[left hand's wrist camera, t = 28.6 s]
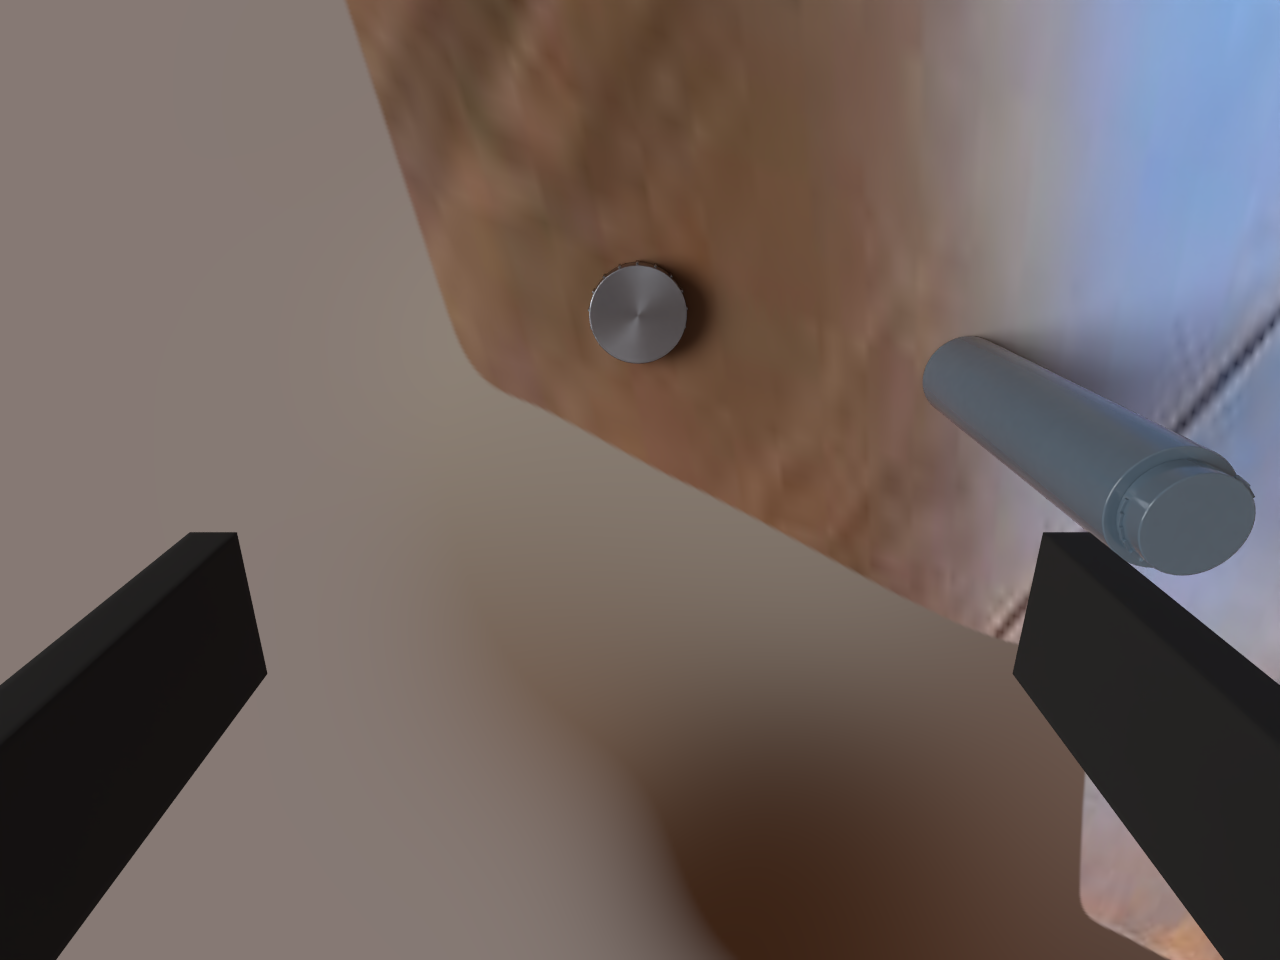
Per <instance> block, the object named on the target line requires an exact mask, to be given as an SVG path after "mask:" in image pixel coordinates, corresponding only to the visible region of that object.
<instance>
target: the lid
mask: <svg viewBox="0 0 1280 960" xmlns="http://www.w3.org/2000/svg"><path fill="white" fill-rule="evenodd" d="M682 292H683V289H682V287H681V288H680V287H679V285H678V284H677V282H676V281H675V279H674V278H673V276H672V274H671V273H670V274H669V273H668V272H666V271H665V270H663V269H662V268H660V267H658V266H657V264H655V263H654V265H653V264H650V263H645V262H639V261H638V260H636V262H631V263H626V264H623V265H621V264H619V265H618V267H616V268H614V269H613V270H611V271H610V272H608V273H607V274H604V275H603V278H602V280H601V281H600V282H599V284H598V285H597V287H596V289H595V288H594V290H593V292H592V293H593V296H592V300H591V303H590V306H589V309H588V311H589V319H590V325H591V327H590V328H591V329H592V332H593V334H594V336H595V338H596V340H597V342H598V343H599V345H600V346H601V347H602V348H603V349H604V350H605V351H606V352H607V353H609V354H610V355H611V356H613V357H615V358H617V359H619V360H621V361H624V362H628V363H638V364H639V363H648V362H652V361H655V360H657V359H659V358H661V357H663V356H665V355H666V354H668V353H669V352H670V351H671V350H672V349H673V348H674V347H675V346H676V345H677V344H678V342H679V340H680V339H681V337H682V335H683V332H684V329H685V328H686V320H687V310H688V307H687V305H686V303H685V299H684V296H683V293H682Z"/></svg>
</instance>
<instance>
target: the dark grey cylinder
mask: <svg viewBox="0 0 1280 960" xmlns="http://www.w3.org/2000/svg"><path fill="white" fill-rule="evenodd" d="M923 389H924V393H925V396H926V398H927V400H928V401H929V402H930V404H931V405H932V406H933V407H934V408H935V409H937V410H938V411H939V412H940V413H942V414H943V415H944V416H945V417H946V418H948V419H949V420H950V421H951V422H953V423H954V424H955V425H956V426H958V427H959V428H960V429H961V430H963V431H964V432H965V433H966V434H967V435H969V436H970V437H971V438H972V439H974V440H975V441H976V442H977V443H979V444H980V445H981V446H982V447H984V448H985V449H986V450H987V451H988V452H990V453H991V454H992V455H993V456H995V457H996V458H997V459H998V460H1000V461H1001V462H1002V463H1003V464H1005V465H1006V466H1007V467H1008V468H1009V469H1011V470H1012V471H1013V472H1014V473H1016V474H1017V475H1018V476H1019V477H1021V478H1022V479H1023V480H1024V481H1025V482H1027V483H1028V484H1029V485H1030V486H1032V487H1033V488H1034V489H1035V490H1037V491H1038V492H1039V493H1040V494H1042V495H1043V496H1044V497H1045V498H1046V499H1048V500H1049V501H1050V502H1051V503H1053V504H1054V505H1055V506H1056V507H1058V508H1059V509H1060V510H1061V511H1063V512H1064V513H1065V514H1066V515H1067V516H1069V517H1070V518H1071V519H1072V520H1074V521H1075V522H1076V523H1077V524H1079V525H1080V526H1081V527H1082V528H1084V529H1085V530H1086V531H1087V532H1090V533H1092V534H1093V535H1094V536H1095V537H1097V538H1098V539H1099V540H1100V541H1101V542H1103V543H1104V544H1105V545H1106V546H1108V547H1109V548H1110V549H1111V550H1113V551H1114V552H1115V553H1116V554H1118V555H1119V556H1120V557H1121V558H1123V559H1124V560H1125V561H1126V562H1128V563H1131V564H1134V565H1137V566H1142V567H1150V568H1155V569H1157V570H1159V571H1161V572H1164V573H1167V574H1172V575H1192V574H1198V573H1201V572H1205V571H1207V570H1210V569H1212V568H1214V567H1216V566H1218V565H1220V564H1221V563H1223V562H1225V561H1226V560H1227V559H1229V558H1230V557H1231V556H1232V555H1233V554H1235V553H1236V552H1237V551H1238V550H1239V548H1240V547H1241V546H1242V545H1243V544H1244V542H1245V541H1246V539H1247V538H1248V536H1249V534H1250V532H1251V530H1252V527H1253V524H1254V520H1255V503H1254V499H1253V498H1254V497H1255V496H1254V494H1253V492H1252V491H1251V489H1250V485H1249V484H1248V483H1247V482H1246V481H1245V480H1244V479H1243V478H1241V477H1240V476H1239V475H1236V473H1235V471H1234V469H1233V468H1232V466H1231V465H1230V464H1229V462H1228V461H1227V460H1226V459H1225V458H1223V457H1222V456H1221V455H1220V454H1218V453H1216V452H1214V451H1212V450H1210V449H1208V448H1206V447H1204V446H1202V445H1200V444H1198V443H1196V442H1194V441H1192V440H1190V439H1188V438H1186V437H1184V436H1182V435H1180V434H1178V433H1176V432H1174V431H1172V430H1170V429H1167V428H1165V427H1163V426H1161V425H1159V424H1157V423H1155V422H1153V421H1151V420H1149V419H1147V418H1145V417H1143V416H1141V415H1139V414H1137V413H1135V412H1133V411H1131V410H1129V409H1127V408H1125V407H1123V406H1121V405H1119V404H1117V403H1115V402H1113V401H1111V400H1108V399H1106V398H1104V397H1102V396H1100V395H1098V394H1096V393H1094V392H1092V391H1090V390H1088V389H1086V388H1084V387H1082V386H1080V385H1078V384H1076V383H1074V382H1072V381H1070V380H1068V379H1066V378H1064V377H1062V376H1060V375H1058V374H1056V373H1054V372H1051V371H1049V370H1047V369H1045V368H1043V367H1041V366H1039V365H1037V364H1035V363H1033V362H1031V361H1029V360H1027V359H1025V358H1023V357H1021V356H1019V355H1017V354H1015V353H1013V352H1011V351H1009V350H1007V349H1005V348H1003V347H1001V346H999V345H997V344H995V343H992V342H990V341H988V340H986V339H984V338H981V337H976V336H965V337H959V338H956V339H953V340H951V341H949V342H947V343H946V344H944V345H943V346H941V347H940V348H939V349H938V350H937V351H936V352H935V353H934V354H933V355H932V357H931V358H930V360H929V361H928V363H927V365H926V368H925V371H924V375H923Z"/></svg>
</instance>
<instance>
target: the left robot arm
mask: <svg viewBox="0 0 1280 960" xmlns="http://www.w3.org/2000/svg"><path fill="white" fill-rule="evenodd" d="M266 675H267V670H266V665H265V661H264V656H263V651H262V647H261V642H260V637H259V633H258V628H257V624H256V619H255V614H254V610H253V605H252V601H251V596H250V591H249V586H248V582H247V577H246V573H245V568H244V563H243V559H242V554H241V550H240V545H239V540H238V536H237V533H236V532H190V533H188V534H187V535H186V536H185V537H183V538H182V539H181V540H180V541H179V542H177V543H176V544H175V545H174V546H172V547H171V548H170V549H169V550H167V551H166V552H165V553H164V554H162V555H161V556H160V557H159V558H157V559H156V560H155V561H154V562H153V563H151V564H150V565H149V566H148V567H146V568H145V569H144V570H143V571H141V572H140V573H139V574H138V575H136V576H135V577H134V578H133V579H131V580H130V581H129V582H128V583H127V584H125V585H124V586H123V587H122V588H120V589H119V590H118V591H117V592H115V593H114V594H113V595H112V596H110V597H109V598H108V599H107V600H105V601H104V602H103V603H102V604H100V605H99V606H98V607H97V608H96V609H94V610H93V611H92V612H91V613H89V614H88V615H87V616H86V617H84V618H83V619H82V620H81V621H79V622H78V623H77V624H76V625H74V626H73V627H72V628H71V629H69V630H68V631H67V632H66V633H65V634H63V635H62V636H61V637H60V638H58V639H57V640H56V641H55V642H53V643H52V644H51V645H50V646H48V647H47V648H46V649H45V650H43V651H42V652H41V653H40V654H39V655H37V656H36V657H35V658H34V659H32V660H31V661H30V662H29V663H27V664H26V665H25V666H24V667H22V668H21V669H20V670H19V671H17V672H16V673H15V674H14V675H12V676H11V677H10V678H9V679H7V680H6V681H5V682H4V683H3V684H1V685H0V960H56V959H57V958H58V956H59V955H60V954H61V952H62V951H63V950H64V948H65V947H66V946H67V944H68V943H69V941H70V940H71V939H72V937H73V936H74V935H75V933H76V932H77V931H78V929H79V928H80V927H81V925H82V924H83V923H84V921H85V920H86V918H87V917H88V916H89V914H90V913H91V912H92V910H93V909H94V908H95V906H96V905H97V904H98V902H99V901H100V900H101V898H102V897H103V895H104V894H105V893H106V891H107V890H108V889H109V887H110V886H111V885H112V883H113V882H114V881H115V879H116V878H117V877H118V875H119V874H120V872H121V871H122V870H123V868H124V867H125V866H126V864H127V863H128V862H129V860H130V859H131V858H132V856H133V855H134V854H135V852H136V851H137V849H138V848H139V847H140V845H141V844H142V843H143V841H144V840H145V839H146V837H147V836H148V835H149V833H150V832H151V831H152V829H153V828H154V826H155V825H156V824H157V822H158V821H159V820H160V818H161V817H162V816H163V814H164V813H165V812H166V810H167V809H168V807H169V806H170V805H171V803H172V802H173V801H174V799H175V798H176V797H177V795H178V794H179V793H180V791H181V790H182V789H183V787H184V786H185V784H186V783H187V782H188V780H189V779H190V778H191V776H192V775H193V774H194V772H195V771H196V770H197V768H198V767H199V766H200V764H201V763H202V761H203V760H204V759H205V757H206V756H207V755H208V753H209V752H210V751H211V749H212V748H213V747H214V745H215V744H216V742H217V741H218V740H219V738H220V737H221V736H222V734H223V733H224V732H225V730H226V729H227V728H228V726H229V725H230V724H231V722H232V721H233V719H234V718H235V717H236V715H237V714H238V713H239V711H240V710H241V709H242V707H243V706H244V705H245V703H246V702H247V701H248V699H249V698H250V696H251V695H252V694H253V692H254V691H255V690H256V688H257V687H258V686H259V684H260V683H261V682H262V680H263V679H264V678H265V676H266ZM1013 675H1014V676H1015V678H1016V679H1017V680H1018V682H1019V683H1020V684H1021V686H1022V687H1023V688H1024V690H1025V691H1026V692H1027V694H1028V695H1029V696H1030V698H1031V699H1032V701H1033V702H1034V703H1035V705H1036V706H1037V707H1038V709H1039V710H1040V711H1041V713H1042V714H1043V715H1044V717H1045V718H1046V720H1047V721H1048V722H1049V724H1050V725H1051V726H1052V728H1053V729H1054V730H1055V732H1056V733H1057V734H1058V736H1059V737H1060V738H1061V740H1062V741H1063V743H1064V744H1065V745H1066V746H1067V748H1068V749H1069V751H1070V752H1071V753H1072V755H1073V756H1074V757H1075V759H1076V760H1077V761H1078V763H1079V764H1080V766H1081V767H1082V768H1083V770H1084V771H1085V772H1086V774H1087V775H1088V776H1089V778H1090V779H1091V780H1092V782H1093V783H1094V784H1095V786H1096V787H1097V789H1098V790H1099V791H1100V793H1101V794H1102V795H1103V797H1104V798H1105V799H1106V801H1107V802H1108V803H1109V805H1110V806H1111V808H1112V809H1113V810H1114V812H1115V813H1116V814H1117V816H1118V817H1119V818H1120V820H1121V821H1122V822H1123V824H1124V825H1125V826H1126V828H1127V829H1128V831H1129V832H1130V833H1131V835H1132V836H1133V837H1134V839H1135V840H1136V841H1137V843H1138V844H1139V845H1140V847H1141V848H1142V849H1143V851H1144V852H1145V854H1146V855H1147V856H1148V858H1149V859H1150V860H1151V862H1152V863H1153V864H1154V866H1155V867H1156V868H1157V870H1158V871H1159V872H1160V874H1161V875H1162V877H1163V878H1164V879H1165V881H1166V882H1167V883H1168V885H1169V886H1170V887H1171V889H1172V890H1173V891H1174V893H1175V894H1176V895H1177V897H1178V898H1179V900H1180V901H1181V902H1182V904H1183V905H1184V906H1185V908H1186V909H1187V910H1188V912H1189V913H1190V914H1191V916H1192V917H1193V918H1194V920H1195V921H1196V923H1197V924H1198V925H1199V927H1200V928H1201V929H1202V931H1203V932H1204V933H1205V935H1206V936H1207V937H1208V939H1209V940H1210V942H1211V943H1212V944H1213V946H1214V947H1215V948H1216V950H1217V951H1218V952H1219V954H1220V955H1221V956H1222V958H1223V959H1224V960H1280V685H1279V684H1278V683H1276V682H1275V681H1274V680H1273V679H1271V678H1270V677H1269V676H1268V675H1266V674H1265V673H1264V672H1263V671H1261V670H1260V669H1259V668H1258V667H1256V666H1255V665H1254V664H1253V663H1251V662H1250V661H1249V660H1248V659H1247V658H1245V657H1244V656H1243V655H1242V654H1240V653H1239V652H1238V651H1237V650H1235V649H1234V648H1233V647H1232V646H1230V645H1229V644H1228V643H1227V642H1225V641H1224V640H1223V639H1222V638H1220V637H1219V636H1218V635H1217V634H1216V633H1214V632H1213V631H1212V630H1211V629H1209V628H1208V627H1207V626H1206V625H1204V624H1203V623H1202V622H1201V621H1199V620H1198V619H1197V618H1196V617H1194V616H1193V615H1192V614H1191V613H1189V612H1188V611H1187V610H1186V609H1185V608H1183V607H1182V606H1181V605H1180V604H1178V603H1177V602H1176V601H1175V600H1173V599H1172V598H1171V597H1170V596H1168V595H1167V594H1166V593H1165V592H1163V591H1162V590H1161V589H1160V588H1158V587H1157V586H1156V585H1155V584H1154V583H1152V582H1151V581H1150V580H1149V579H1147V578H1146V577H1145V576H1144V575H1142V574H1141V573H1140V572H1139V571H1137V570H1136V569H1135V568H1134V567H1132V566H1131V565H1130V564H1129V563H1127V562H1126V561H1125V560H1124V559H1123V558H1121V557H1120V556H1119V555H1118V554H1116V553H1115V552H1114V551H1113V550H1111V549H1110V548H1109V547H1108V546H1106V545H1105V544H1104V543H1103V542H1101V541H1100V540H1099V539H1098V538H1097V537H1095V536H1094V535H1093V534H1092V533H1090V532H1043V536H1042V540H1041V545H1040V549H1039V554H1038V559H1037V563H1036V568H1035V573H1034V577H1033V582H1032V586H1031V591H1030V596H1029V600H1028V605H1027V610H1026V614H1025V619H1024V623H1023V628H1022V633H1021V637H1020V642H1019V647H1018V651H1017V656H1016V660H1015V665H1014V670H1013Z"/></svg>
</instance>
